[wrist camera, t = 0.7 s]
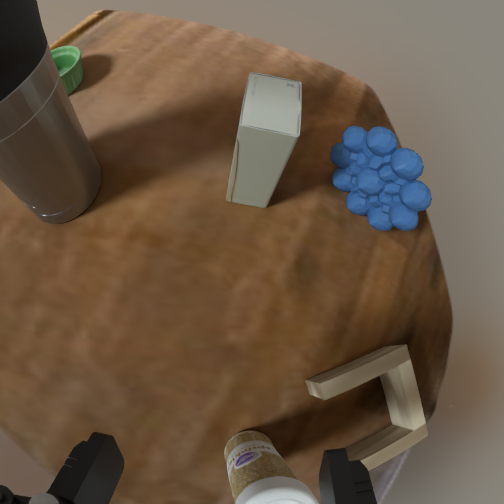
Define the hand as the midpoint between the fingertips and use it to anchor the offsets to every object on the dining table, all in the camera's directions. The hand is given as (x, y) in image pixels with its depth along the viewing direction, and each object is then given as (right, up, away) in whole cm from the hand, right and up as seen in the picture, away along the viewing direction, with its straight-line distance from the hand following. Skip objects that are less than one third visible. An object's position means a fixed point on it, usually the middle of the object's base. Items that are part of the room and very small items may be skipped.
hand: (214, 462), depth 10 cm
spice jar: (+1, -10, +15) cm, 18 cm away
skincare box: (+1, +15, +23) cm, 28 cm away
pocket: (+12, -7, +17) cm, 22 cm away
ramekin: (-27, +32, +25) cm, 48 cm away
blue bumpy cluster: (+13, +13, +24) cm, 30 cm away
